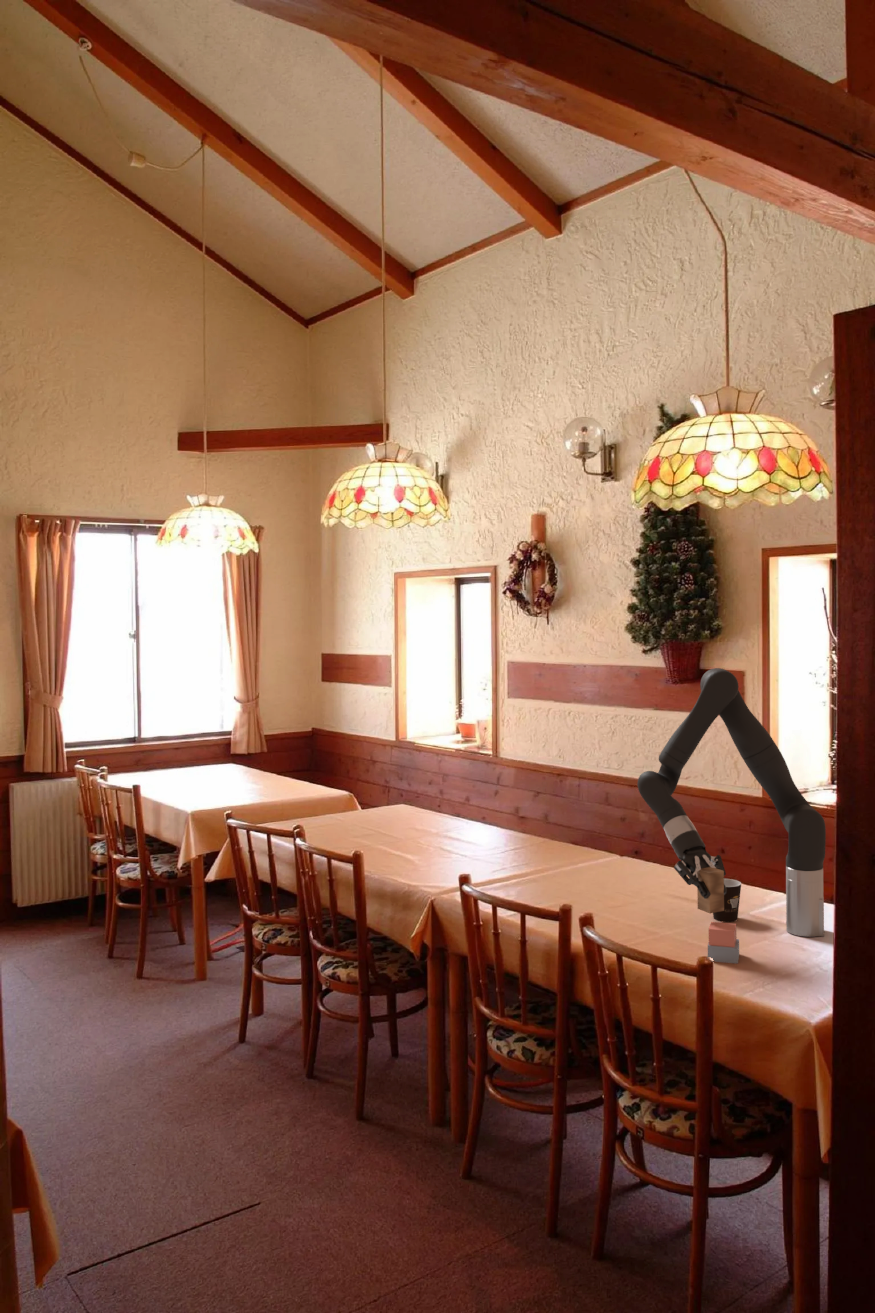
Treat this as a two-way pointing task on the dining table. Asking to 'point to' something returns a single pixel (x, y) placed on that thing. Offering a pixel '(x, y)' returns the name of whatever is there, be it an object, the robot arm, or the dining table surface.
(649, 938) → the dining table surface
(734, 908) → the coffee mug
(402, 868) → the dining table surface
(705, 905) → the pillar brick
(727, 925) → the tower brick
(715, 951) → the tower bottom brick
